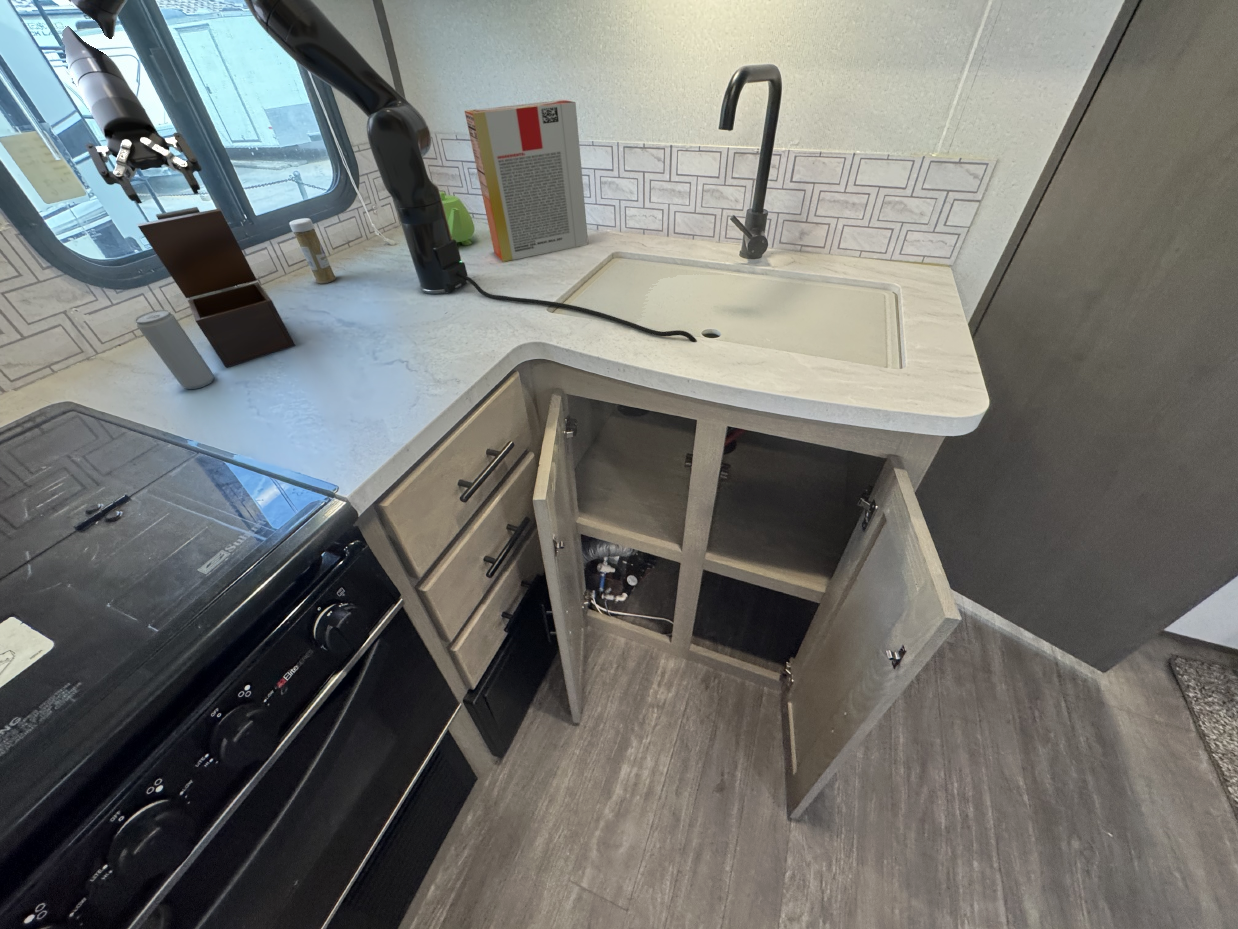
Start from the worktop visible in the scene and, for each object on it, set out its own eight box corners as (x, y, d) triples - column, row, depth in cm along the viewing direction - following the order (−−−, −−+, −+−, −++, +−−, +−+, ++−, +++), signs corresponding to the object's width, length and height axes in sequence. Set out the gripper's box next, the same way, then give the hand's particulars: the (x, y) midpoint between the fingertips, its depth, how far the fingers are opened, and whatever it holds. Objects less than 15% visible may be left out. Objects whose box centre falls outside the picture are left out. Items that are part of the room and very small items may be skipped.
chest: (295, 345, 93) (271, 299, 87) (225, 367, 88) (195, 320, 82) (280, 324, 100) (257, 281, 95) (215, 344, 95) (187, 299, 89)
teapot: (489, 246, 132) (477, 194, 123) (439, 258, 127) (424, 204, 118) (463, 230, 145) (451, 181, 137) (418, 240, 140) (403, 190, 131)
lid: (221, 210, 83) (211, 195, 86) (137, 226, 78) (129, 209, 80) (257, 280, 94) (247, 265, 96) (186, 298, 89) (177, 282, 91)
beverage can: (193, 376, 86) (146, 310, 78) (221, 374, 86) (177, 307, 78) (177, 391, 82) (125, 323, 74) (206, 389, 82) (158, 321, 74)
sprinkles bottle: (338, 280, 118) (312, 220, 109) (317, 285, 116) (289, 224, 107) (334, 275, 121) (309, 216, 112) (314, 280, 119) (287, 220, 110)
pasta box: (576, 236, 134) (562, 99, 115) (588, 244, 129) (575, 102, 109) (494, 252, 127) (464, 110, 108) (502, 261, 122) (472, 113, 102)
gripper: (54, 99, 80) (106, 188, 81) (158, 90, 87) (206, 173, 87) (79, 135, 87) (128, 218, 87) (175, 124, 93) (219, 201, 94)
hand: (167, 195), depth 87 cm, fingers open, 8 cm apart
